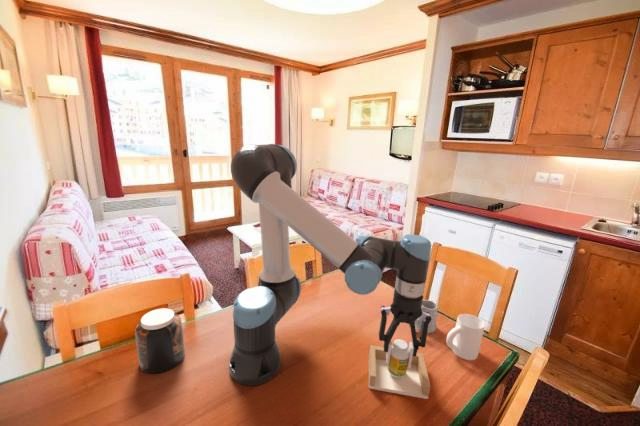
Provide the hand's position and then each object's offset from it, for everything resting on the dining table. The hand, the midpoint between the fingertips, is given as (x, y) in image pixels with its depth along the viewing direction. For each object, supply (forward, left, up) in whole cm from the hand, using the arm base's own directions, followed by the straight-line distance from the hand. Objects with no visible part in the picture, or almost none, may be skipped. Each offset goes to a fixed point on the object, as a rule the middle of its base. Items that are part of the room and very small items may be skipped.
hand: (397, 361), depth 83 cm
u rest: (0, 0, -5) cm, 5 cm away
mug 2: (+22, +15, -5) cm, 27 cm away
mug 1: (+11, +25, -5) cm, 28 cm away
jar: (-70, -9, -5) cm, 71 cm away
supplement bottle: (0, 0, -3) cm, 3 cm away
